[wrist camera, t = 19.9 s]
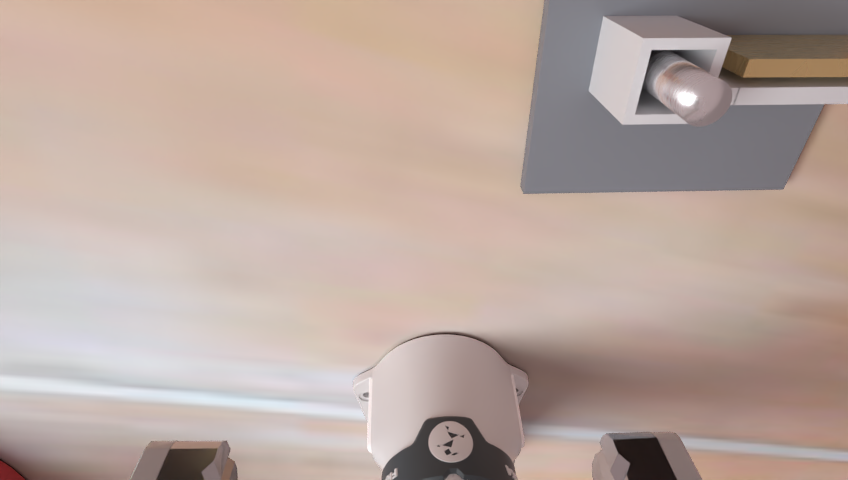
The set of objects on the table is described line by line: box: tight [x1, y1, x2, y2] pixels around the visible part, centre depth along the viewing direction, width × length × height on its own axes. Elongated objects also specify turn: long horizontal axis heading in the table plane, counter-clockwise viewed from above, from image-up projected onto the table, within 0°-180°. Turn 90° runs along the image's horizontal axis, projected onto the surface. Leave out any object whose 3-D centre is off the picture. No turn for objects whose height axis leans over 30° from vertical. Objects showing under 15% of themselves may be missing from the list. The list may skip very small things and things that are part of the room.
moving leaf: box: [722, 35, 848, 78], centre depth 29 cm, size 1×11×6 cm, turn 89°
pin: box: [642, 50, 732, 127], centre depth 28 cm, size 2×2×10 cm
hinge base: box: [521, 0, 848, 194], centre depth 30 cm, size 22×21×8 cm
